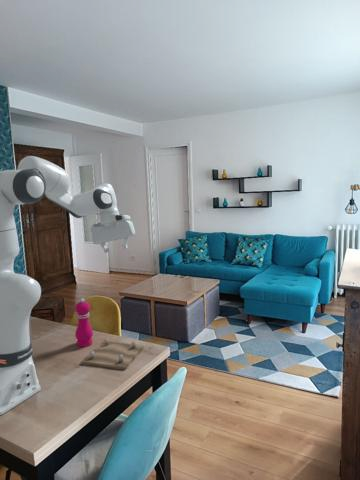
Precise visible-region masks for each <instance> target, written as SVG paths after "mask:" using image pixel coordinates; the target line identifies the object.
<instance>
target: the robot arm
mask: <svg viewBox="0 0 360 480" xmlns="http://www.w3.org/2000/svg"><path fill="white" fill-rule="evenodd" d="M70 185H71V180H70V175H69V174H68V172H67V171H66V170H65V169H64V168H62V167H60V166H59V165H58V164H55V163H53V162H51V161H49V160H47V159H44V158H41V157H39V156H34V155H28V156H25V157H23V158H22V159H21V160H20V161H19V164H18V166H17V169H5V170H0V416H2V415H4V414H5V413H7V412H8V411H11V409H13V408H16V406H18V405H20V404H21V403H23V402H24V401H26V400H27V399H30V397H33V395H35V394H37V393H38V392H40V391H41V389H42V388H41V385H40V384H39V382H40V381H39V379H38V375H37V372H36V370H37V369H36V366H35V364H34V360H33V346H32V345H33V344H32V342H31V337H30V336H31V335H30V318H31V313H32V310H33V308H34V307H35V306H36V305H37V304H38V302H39V301H40V299H41V297H42V296H41V295H42V287H41V285H40V283H39V282H38V281H37V280H36V279H34V278H32V277H31V276H29V275H26V274H24V273H23V274H22V273H16V272H15V271H14V263H15V259H16V257H17V256H18V255H19V253H20V243H19V238H18V230H17V225H16V221H15V220H16V219H15V216H14V212H15V207H16V206H17V205H33V204H35V203H38V202H40V201H41V200H42V199H43V198H44V196H45V198H46V199H48V200H49V201H50V202H51V203H54V204H55V205H56V206H59V207H61V208H62V209H64V210H65V211H67V212H68V213H69V214H70V216H73V217H74V218H75V219H81V218H84V217H86V216H88V215H93V214H96V213H98V217H99V221H100V222H97V223H93V224H92V225H91V227H90V231H91V241H92V244H93V245H100V247H101V248H102V249H103V252H104V254H105V253H109V252H110V250H109V248H108V247H107V246H106V243H108V242H109V243H110V242H113V241H116V240H122V239H123V241H124V243H123V244H122V248H123V249H128V248H129V247H128V243H129V239H130V237H134V236H136V229H135V226H134V223H133V221H131V220H132V219H131V216H130V215H127V214H123V213H121V214H120V211H119V208H118V205H117V204H118V201H117V196H116V193H115V190H114V187H113V185H112V184H110V183H108V182H103V183H98V184H97V185H95V187H94V188H93V189H91V190H88V191H83V192H82V193H78V194H74V195H72V194H69V193H68V191H69V188H70Z"/></svg>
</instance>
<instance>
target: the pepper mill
mask: <svg viewBox="0 0 360 480" xmlns="http://www.w3.org/2000/svg"><path fill="white" fill-rule="evenodd" d="M74 307H75V308H74V310H75V313H77V314H76V318H77V321H78V323H77V327H76V330H75V337H74V338H75V339H76V340H77V341H76V345H77V347H78V348H79V347H80V348H85V347H90V346H91V345H92V344H93V338H92V337H93V335H94V331H93V329H92V326H91V325H90V322H89V317H90V309H91V306H90V303H88V302H87V301H85V299H84V298H80V300H79V302H78V303H77V304H76V305H75V306H74Z"/></svg>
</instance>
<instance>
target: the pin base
mask: <svg viewBox="0 0 360 480" xmlns="http://www.w3.org/2000/svg"><path fill="white" fill-rule="evenodd" d="M142 350H144V345H142V344H136V341H135V340H133V341H131V343H126V342H115V341H109V338H108V337H107V338H104V341H102V342H101V343H99V344H98V346H96V347H95V348H94V349H93V350H91V351H89V353H88V354H87V355H86V356H85V357H84V358H83V359H82V360H80V364H81V365H84V366H85V365H86V366H91V367H93V366H94V367H101V368H109V369H117V370H123V371H124V370H126V369H127V368H128V367H129V366H130V365H131V364H132V363H133V361H134V360H135V359H136V358H137V357H138V356H139V354H140V353H141V352H142Z"/></svg>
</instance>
